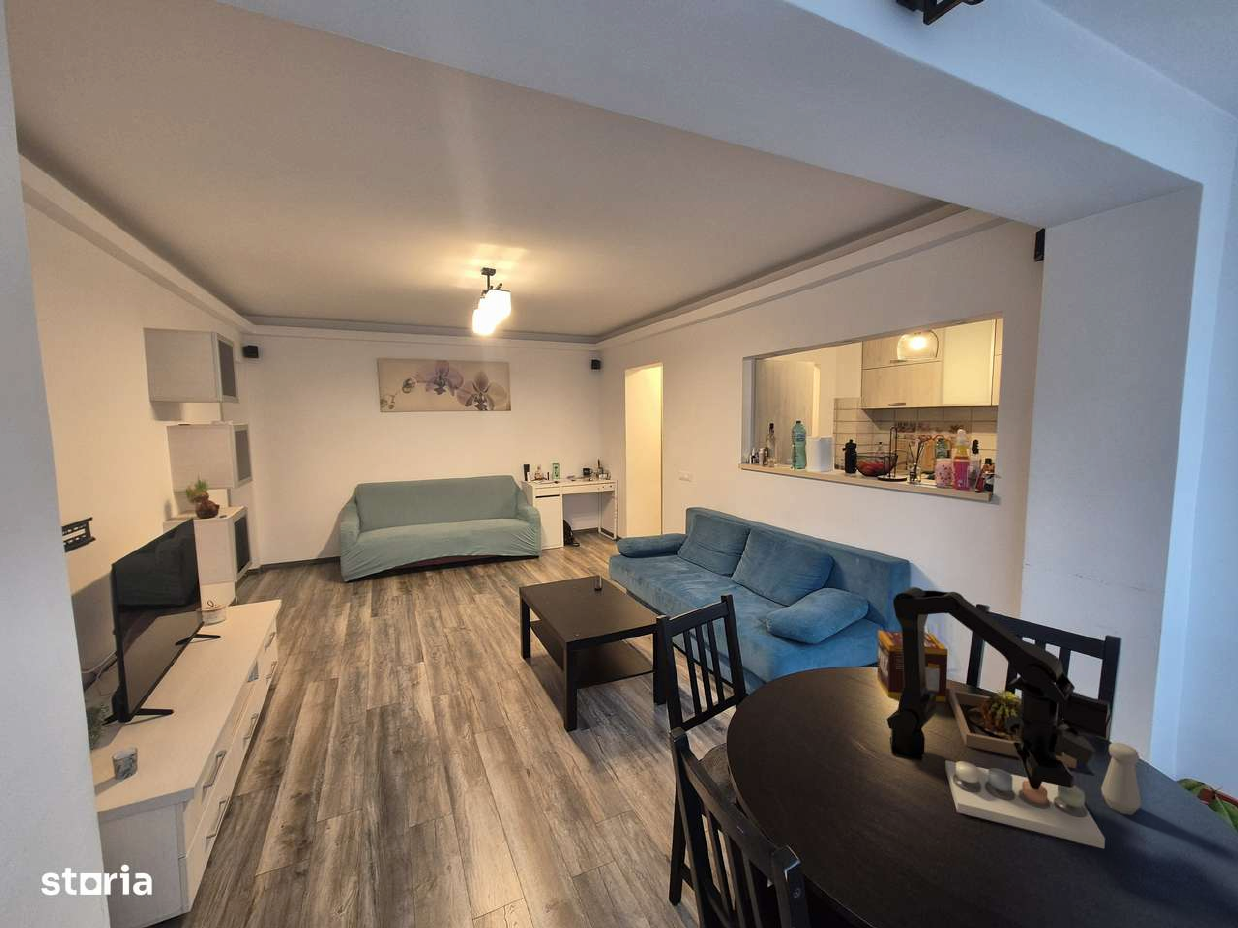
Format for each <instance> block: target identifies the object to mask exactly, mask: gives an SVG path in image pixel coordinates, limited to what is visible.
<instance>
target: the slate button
mask: <svg viewBox="0 0 1238 928" xmlns="http://www.w3.org/2000/svg"><path fill="white" fill-rule="evenodd" d="M1010 774H1011V773H1009V772H1007V771H1005V770H1004V769H1002V768H1001V769H1000V768H996V767H993V768H992V767H991V768H989V773H988V781H989V783H990V784H991V785H992V786H994V787H996V788H998V789H1000V790H1005V791H1009V790H1011V789H1012V780H1013V778H1012V776H1011V775H1010Z"/></svg>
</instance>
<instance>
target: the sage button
mask: <svg viewBox="0 0 1238 928" xmlns="http://www.w3.org/2000/svg"><path fill="white" fill-rule="evenodd" d="M1058 797H1059V799H1060V800H1062V801H1063V802H1065V803H1067V804H1069V805H1071V806H1075V807H1083V806H1084V805H1085V802H1086V801H1085V799H1086V794H1085V792H1084V791H1083V790H1082V789H1081V788H1080V787H1078V786H1076V785H1074V784H1073V787H1072V788H1068V787H1063V786H1059V785H1058Z"/></svg>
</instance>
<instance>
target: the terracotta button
mask: <svg viewBox="0 0 1238 928" xmlns="http://www.w3.org/2000/svg"><path fill="white" fill-rule="evenodd" d="M1047 794H1048V791H1047V790H1046V788H1044V787H1043V786H1042V785H1040V787H1039V789H1033V788H1031V786H1030V783H1029V781H1024V782H1023V783H1022V795H1023V796H1024V797H1025V798H1026V799H1028V800H1029V801H1031V802H1033V803H1036V804H1046V803H1047Z"/></svg>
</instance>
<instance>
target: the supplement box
mask: <svg viewBox="0 0 1238 928" xmlns="http://www.w3.org/2000/svg"><path fill="white" fill-rule="evenodd" d="M877 634H878V635H877V636H878V637H877V675H876V676H877V681H878V682H879V685H880V686H881V688H882V690H883V691H884V693H885V695H886V696H887V697H888V698H898V699H900V697H901V694H902V691H903V688H904V673H903V649H902V631H887V630H878V631H877ZM924 648H925V674H926V687H927V689H928V691H929V693H930V694H934V695H936V702H946V700H947V675H948V648H946V647H945V645H944V644H943V643H942V642H940V640H939V639H938V638H937V637H936V636H935V634H933V633H925V632H924Z"/></svg>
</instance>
